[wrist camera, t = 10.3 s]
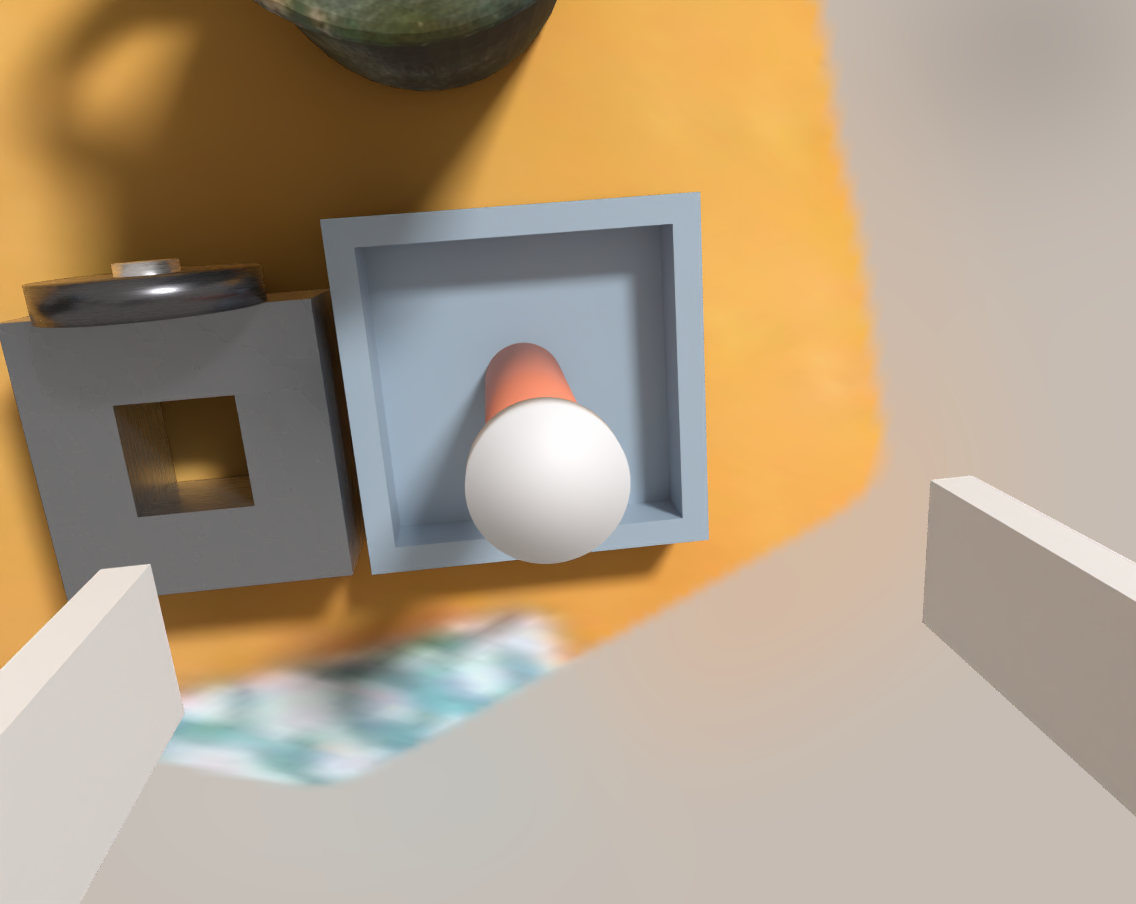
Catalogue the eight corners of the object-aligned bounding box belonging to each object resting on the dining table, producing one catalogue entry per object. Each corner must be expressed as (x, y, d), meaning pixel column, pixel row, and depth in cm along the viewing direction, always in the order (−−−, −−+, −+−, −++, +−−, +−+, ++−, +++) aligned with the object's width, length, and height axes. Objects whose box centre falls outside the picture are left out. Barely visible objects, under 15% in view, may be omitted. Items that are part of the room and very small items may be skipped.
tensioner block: (115, 560, 34) (17, 653, 27) (45, 265, 31) (-88, 282, 24) (367, 534, 35) (337, 619, 28) (324, 244, 32) (278, 254, 24)
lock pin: (477, 435, 33) (473, 572, 21) (466, 334, 32) (456, 414, 20) (578, 426, 34) (634, 555, 21) (571, 325, 32) (626, 398, 20)
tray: (380, 544, 35) (372, 574, 32) (334, 218, 31) (319, 219, 28) (690, 513, 36) (708, 539, 33) (680, 193, 32) (700, 191, 29)
